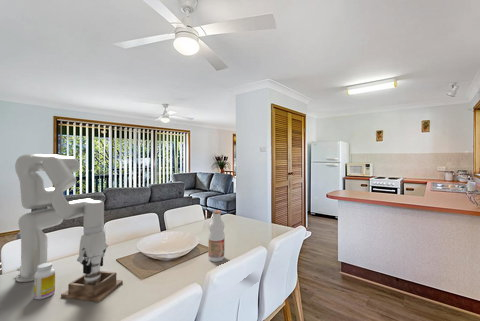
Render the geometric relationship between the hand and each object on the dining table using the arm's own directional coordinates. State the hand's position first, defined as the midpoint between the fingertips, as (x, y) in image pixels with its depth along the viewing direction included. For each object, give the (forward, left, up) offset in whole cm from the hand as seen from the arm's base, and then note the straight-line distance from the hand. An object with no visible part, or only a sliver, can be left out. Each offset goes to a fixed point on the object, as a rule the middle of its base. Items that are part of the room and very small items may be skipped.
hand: (93, 269), depth 97 cm
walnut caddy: (0, 0, -9) cm, 9 cm away
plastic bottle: (0, -1, -7) cm, 7 cm away
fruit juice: (+45, +40, -9) cm, 61 cm away
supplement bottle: (-17, -7, -9) cm, 20 cm away
